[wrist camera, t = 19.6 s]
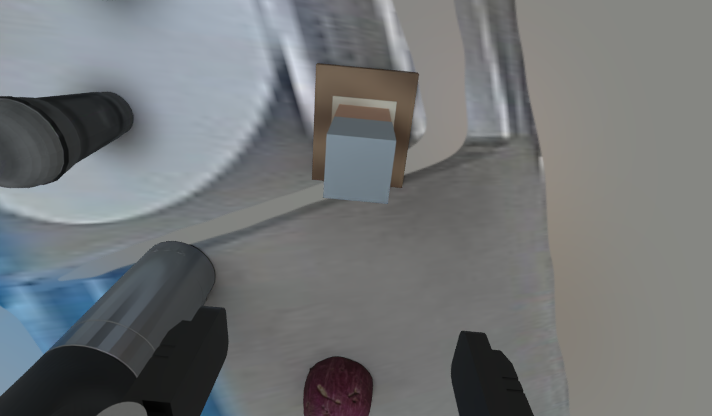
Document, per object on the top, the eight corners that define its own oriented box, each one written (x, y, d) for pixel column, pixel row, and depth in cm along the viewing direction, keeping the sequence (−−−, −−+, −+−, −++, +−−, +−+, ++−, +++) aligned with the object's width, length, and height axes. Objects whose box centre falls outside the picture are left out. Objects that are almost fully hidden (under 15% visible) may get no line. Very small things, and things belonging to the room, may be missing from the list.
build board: (401, 183, 42) (402, 188, 41) (313, 175, 42) (311, 180, 41) (417, 72, 37) (419, 74, 36) (317, 63, 37) (315, 64, 36)
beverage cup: (73, 128, 41) (-160, 205, 23) (82, 65, 38) (-175, 97, 20) (138, 157, 42) (-35, 252, 24) (152, 97, 39) (-32, 156, 21)
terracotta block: (382, 156, 40) (384, 176, 34) (336, 151, 40) (330, 171, 34) (388, 108, 38) (391, 122, 32) (339, 104, 38) (333, 116, 32)
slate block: (385, 176, 34) (387, 203, 29) (331, 170, 34) (323, 197, 29) (392, 121, 32) (396, 140, 27) (334, 116, 32) (326, 134, 27)
